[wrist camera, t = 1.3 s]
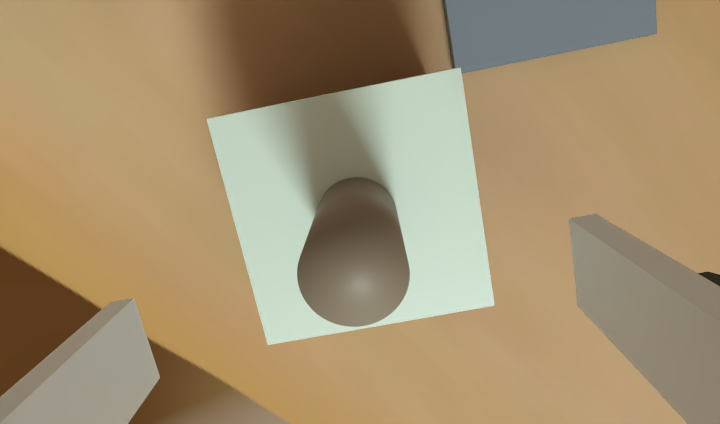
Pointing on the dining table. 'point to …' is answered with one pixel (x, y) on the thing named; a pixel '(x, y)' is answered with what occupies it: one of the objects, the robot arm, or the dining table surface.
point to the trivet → (539, 28)
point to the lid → (357, 206)
